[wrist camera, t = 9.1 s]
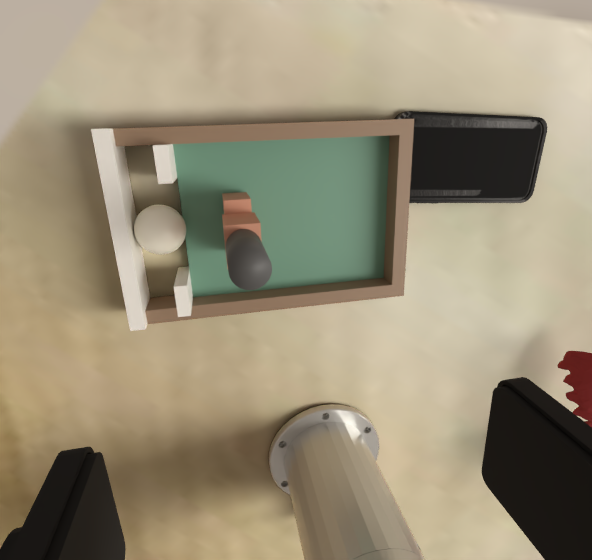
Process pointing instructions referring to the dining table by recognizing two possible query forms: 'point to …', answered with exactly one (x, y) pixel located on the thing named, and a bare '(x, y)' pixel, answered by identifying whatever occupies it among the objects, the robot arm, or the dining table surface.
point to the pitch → (269, 212)
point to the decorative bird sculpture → (579, 382)
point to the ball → (160, 229)
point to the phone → (474, 157)
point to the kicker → (244, 243)
